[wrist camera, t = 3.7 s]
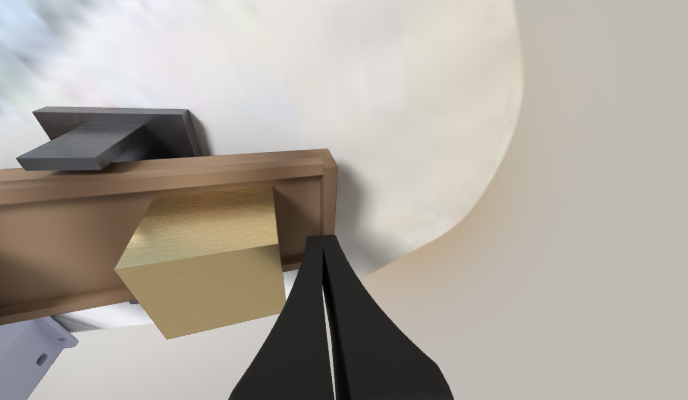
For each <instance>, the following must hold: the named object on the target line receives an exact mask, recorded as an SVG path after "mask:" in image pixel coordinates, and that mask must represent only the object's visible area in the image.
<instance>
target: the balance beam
mask: <svg viewBox="0 0 688 400" xmlns="http://www.w3.org/2000/svg"><path fill="white" fill-rule="evenodd" d="M337 174H338V166H337V164H336V162H335V161H334V159H333V157H332V155H331V153H330V152H329V150H328V149H313V150H298V151H282V152H266V153H251V154H235V155H219V156H204V157H188V158H172V159H157V160H141V161H125V162H111V163H110V164H109V165H108V166H106V167H105V168H104V169H102V170H60V171H25V170H24V168H16V169H0V326H1V325H6V324H11V323H16V322H22V321H27V320H32V319H38V318H43V317H48V316H53V315H59V314H64V313H69V312H74V311H80V310H85V309H90V308H96V307H101V306H106V305H111V304H117V303H122V302H127V301H133V300H137V299H136V298H135V297H134V295H133V294H132V293H131V291H130V290H129V289H128V287H127V286H126V285H125V283H124V282H123V281H122V279H121V278H120V277H119V275H118V274H117V273H116V271H115V270H114V269H115V267H116V266H117V264H118V262H119V260H120V258H121V256H122V255H123V253H124V251H125V249H126V247H127V245H128V244H129V242H130V240H131V238H132V236H133V234H134V233H135V231H136V229H137V227H138V225H139V223H140V222H141V220H142V218H143V216H144V214H145V212H146V211H147V209H148V207H149V205H150V203H151V201H152V200H153V198H154V197H160V196H171V195H181V194H191V193H201V192H211V191H221V190H232V189H242V188H252V187H262V186H272V189H273V197H274V205H275V213H276V220H277V228H278V236H279V244H280V252H281V260H282V269H283V272H286V271H291V270H296V269H299V268H300V265H301V262H302V258H303V254H304V250H305V244H306V237H308V236H316V235H334V230H335V211H336V192H337Z"/></svg>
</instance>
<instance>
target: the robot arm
mask: <svg viewBox="0 0 688 400" xmlns="http://www.w3.org/2000/svg"><path fill="white" fill-rule="evenodd" d="M322 285H323V291H324V297H325V303H326V309H327V315H328V321H329V327H330V333H331V341H332V353H333V367H334V379H335V392H336V400H454V398H453V395H452V393H451V390H450V388H449V385H448V384H447V382H446V380H445V378H444V376H443V374H442V372H441V370H440V369H439V367H438V365H437V364H436V363H435V362H434V361H433V360H431V359H430V358H429V357H428V356H427V355H426V354H425V353H423V352H422V351H421V350H420V349H419V348H418V347H417V346H416V345H415V344H414V343H413V342H412V341H411V340H410V339H409V338H408V337H407V336H406V335H405V334H404V333H402V331H401V330H400V329H399V328H398V327H397V326H396V325H395V324H394V323H393V322H392V321H391V320H390V318H389V317H388V316H387V315H386V314H385V313H384V312H383V311H382V309H381V308H380V307H379V306H378V305H377V303H376V302H375V301H374V300H373V298H372V297H371V296H370V294H369V293H368V292H367V290H366V289H365V287H364V286H363V285H362V283H361V282H360V280H359V279H358V277H357V276H356V274H355V272H354V271H353V269H352V267H351V266H350V264H349V262H348V261H347V259H346V257H345V255H344V253H343V251H342V249H341V247H340V245H339V242H338V240H337V237H336V236H335V235H316V236H308V237H306V244H305V250H304V254H303V258H302V262H301V265H300V268H299V271H298V274H297V277H296V279H295V282H294V284H293V287H292V289H291V292H290V294H289V296H288V299H287V301H286V303H285V305H284V307H283V309H282V311H281V313H280V315H279V317H278V319H277V321H276V323H275V325H274V327H273V328H272V330H271V332H270V334H269V336H268V337H267V339H266V340H265V342H264V344H263V345H262V347H261V349H260V350H259V352H258V354H257V355H256V357H255V359H254V360H253V362H252V363H251V365H250V366H249V368H248V369H247V370H246V372H245V373H244V375H243V376H242V378H241V379H240V381H239V382H238V384H237V385H236V386H235V388H234V389H233V391H232V393H231V395H230V397H229V399H228V400H334V392H333V384H332V376H331V368H330V360H329V351H328V342H327V333H326V323H325V314H324V304H323V293H322ZM77 343H78V340H77V339H76V338H75V337H74V336H73V335H71V334H70V333H69V332H68V331H67V330H66V329H64V328H63V327H62V326H61V325H60V324H58V323H57V322H56V321H55V320H54V319H52V318H51V317H50V316H48V317H43V318H38V319H32V320H27V321H22V322H16V323H11V324H6V325H1V326H0V400H27V399H28V397H29V396H30V395H31V393H32V392H33V390H34V389H35V388H36V386H37V385H38V383H39V382H40V381H41V379H42V378H43V376H44V375H45V374H46V372H47V371H48V370H49V368H50V367H51V365H52V364H53V363H54V361H55V360H56V358H57V357H58V356H59V354H60V353H61V351H62V350H63V349H64V348H71V347H74V346H76V345H77Z"/></svg>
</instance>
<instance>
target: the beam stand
mask: <svg viewBox="0 0 688 400" xmlns="http://www.w3.org/2000/svg"><path fill="white" fill-rule="evenodd" d="M32 113H33V114H34V116H35V117H36V119H37V120H38V122H39V123H40V125H41V126H42V128H43V129H44V131H45V132H46V134H47V135H48V137H49V138H50V140H51V141H50V142H48V143H46V144H44V145H41V146H39V147H37V148H35V149H33V150H31V151H29V152H27V153H25V154H23V155H21V156H19V157H17V158H16V159H17V161H18V162H19V163H20V165H21V166H22V167H23V168H24V170H25V171H60V170H102V169H104V168H105V167H106V166H108V165H109V164H110V163H111V162H125V161H141V160H157V159H172V158H188V157H202V155H201V152H200V149H199V145H198V142H197V139H196V135H195V132H194V129H193V125H192V122H191V119H190V115H189V112H188V109H140V108H91V107H44V108H42V109H39V110H36V111H33V112H32ZM129 303H130V304H139V302H138V301H137V300H133V301H129Z"/></svg>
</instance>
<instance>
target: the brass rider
mask: <svg viewBox="0 0 688 400" xmlns="http://www.w3.org/2000/svg"><path fill="white" fill-rule="evenodd" d="M114 270H115V271H116V273H117V274H118V275H119V277H120V278H121V279H122V281H123V282H124V283H125V285H126V286H127V287H128V289H129V290H130V291H131V293H132V294H133V295H134V297H135V298H136V299H137V301H138V302H139V303H140V305H141V306H142V307H143V309H144V310H145V311H146V313H147V314H148V315H149V317H150V318H151V319H152V321H153V322H154V323H155V325H156V326H157V327H158V329H159V330H160V331H161V332H162V334H163V335H164V337H165V338H166V339H167V340H168V339H172V338H176V337H180V336H185V335H189V334H193V333H198V332H202V331H206V330H211V329H215V328H219V327H223V326H228V325H232V324H236V323H241V322H245V321H250V320H254V319H258V318H262V317H266V316H271V315H275V314H280V313H281V311H282V309H283V307H284V305H285V303H286V296H285V287H284V278H283V269H282V260H281V252H280V244H279V236H278V228H277V220H276V213H275V205H274V197H273V189H272V186H262V187H252V188H242V189H232V190H221V191H211V192H201V193H191V194H181V195H171V196H160V197H154V198H153V200H152V201H151V203H150V205H149V207H148V209H147V211H146V212H145V214H144V216H143V218H142V220H141V222H140V223H139V225H138V227H137V229H136V231H135V233H134V234H133V236H132V238H131V240H130V242H129V244H128V245H127V247H126V249H125V251H124V253H123V255H122V256H121V258H120V260H119V262H118V264H117V266H116V267H115V269H114Z"/></svg>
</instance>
